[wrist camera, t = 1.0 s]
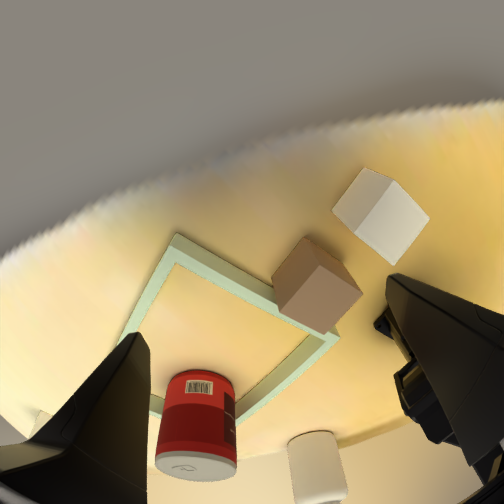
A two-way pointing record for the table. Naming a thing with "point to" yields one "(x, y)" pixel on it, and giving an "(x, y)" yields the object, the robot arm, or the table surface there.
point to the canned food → (198, 428)
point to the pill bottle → (316, 469)
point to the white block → (381, 214)
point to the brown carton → (314, 287)
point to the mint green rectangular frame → (247, 290)
